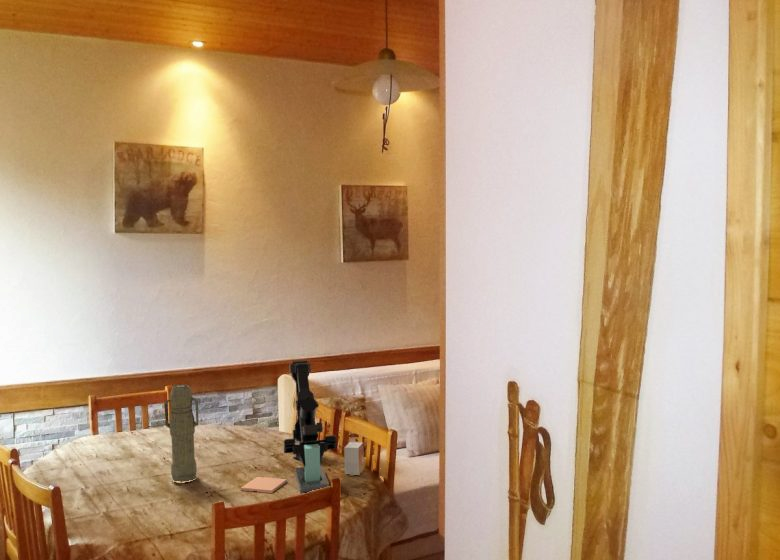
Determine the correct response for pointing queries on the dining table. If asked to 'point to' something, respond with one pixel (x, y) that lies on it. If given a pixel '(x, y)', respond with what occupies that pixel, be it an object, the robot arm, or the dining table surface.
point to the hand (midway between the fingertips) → (312, 465)
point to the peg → (312, 462)
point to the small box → (354, 458)
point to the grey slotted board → (313, 484)
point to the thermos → (182, 432)
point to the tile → (264, 484)
